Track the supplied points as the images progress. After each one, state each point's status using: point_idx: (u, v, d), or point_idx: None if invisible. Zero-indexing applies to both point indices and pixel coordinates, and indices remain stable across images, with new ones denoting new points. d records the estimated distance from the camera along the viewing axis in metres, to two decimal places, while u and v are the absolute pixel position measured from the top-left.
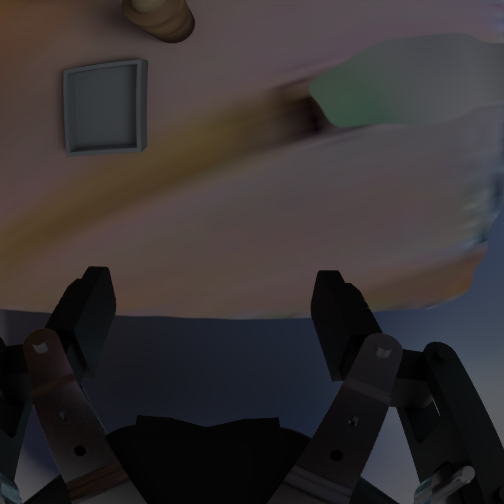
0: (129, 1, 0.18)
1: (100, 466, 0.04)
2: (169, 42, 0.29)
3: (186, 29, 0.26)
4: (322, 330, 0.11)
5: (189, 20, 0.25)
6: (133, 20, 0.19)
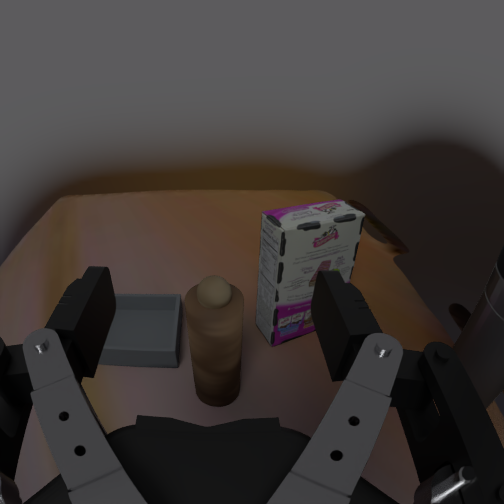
0: None
1: (100, 466, 0.04)
2: None
3: (202, 382, 0.28)
4: (322, 330, 0.11)
5: (211, 379, 0.28)
6: (192, 289, 0.26)
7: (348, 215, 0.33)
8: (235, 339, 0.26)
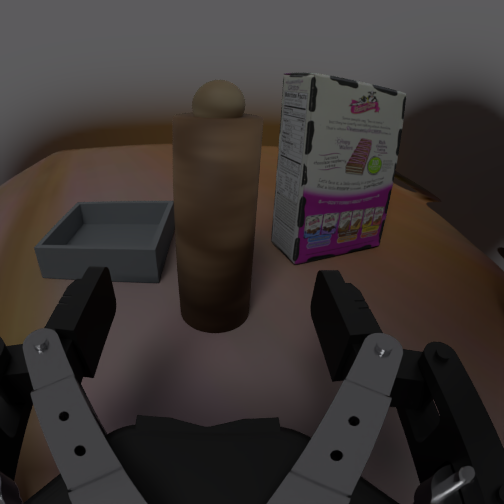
0: None
1: (100, 466, 0.04)
2: None
3: (190, 278, 0.18)
4: (322, 330, 0.11)
5: (204, 266, 0.18)
6: (186, 113, 0.17)
7: (388, 88, 0.23)
8: (248, 181, 0.16)
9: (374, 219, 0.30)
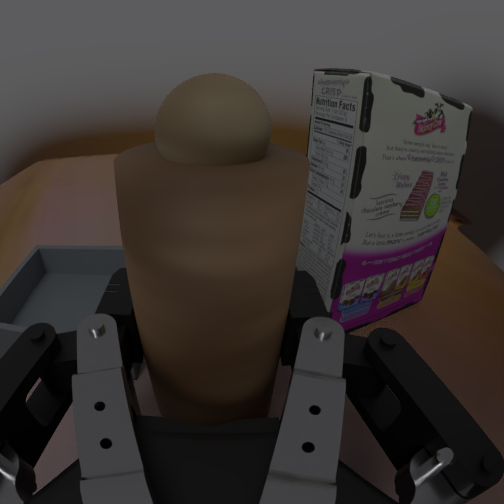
0: None
1: (100, 466, 0.04)
2: None
3: None
4: None
5: (197, 420, 0.09)
6: (149, 143, 0.08)
7: (455, 99, 0.15)
8: (278, 299, 0.08)
9: (422, 272, 0.22)
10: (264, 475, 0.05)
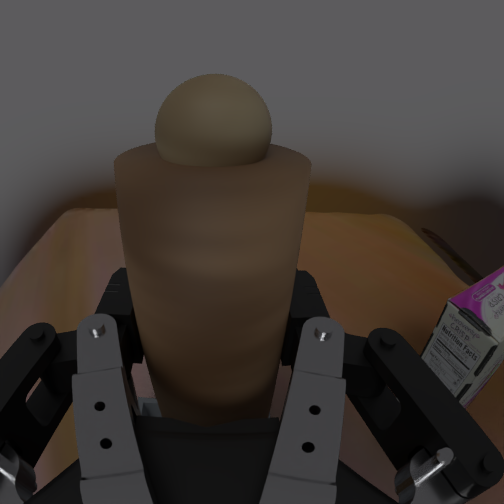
0: None
1: (100, 466, 0.04)
2: None
3: None
4: None
5: (197, 421, 0.09)
6: (150, 144, 0.08)
7: None
8: (279, 301, 0.08)
9: (471, 401, 0.23)
10: (264, 475, 0.05)
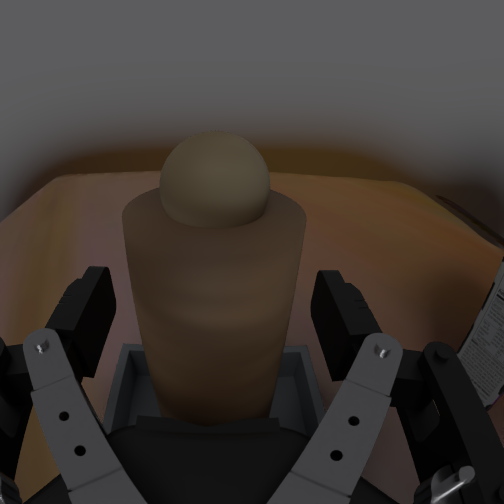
0: None
1: (100, 466, 0.04)
2: None
3: None
4: (322, 330, 0.11)
5: None
6: (154, 190, 0.09)
7: None
8: (274, 342, 0.09)
9: None
10: (287, 474, 0.05)
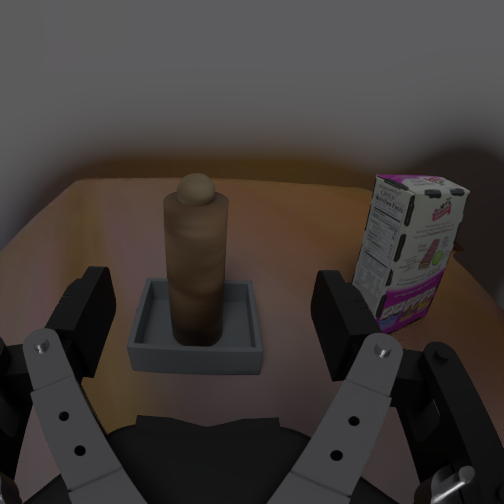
0: None
1: (100, 466, 0.04)
2: None
3: (178, 311, 0.26)
4: (322, 330, 0.11)
5: (188, 304, 0.25)
6: (173, 193, 0.24)
7: (459, 189, 0.26)
8: (217, 249, 0.23)
9: (428, 297, 0.32)
10: (287, 473, 0.05)
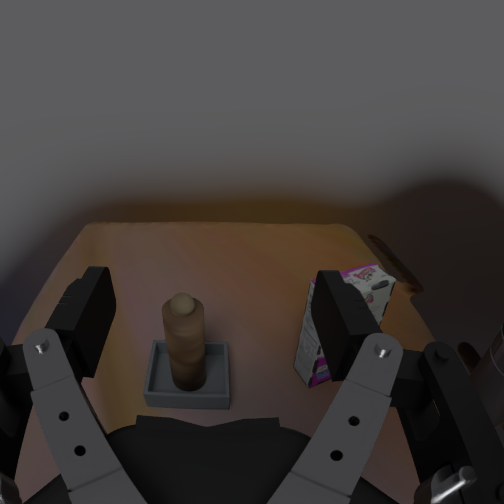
0: None
1: (100, 466, 0.04)
2: None
3: (175, 371, 0.38)
4: (322, 330, 0.11)
5: (181, 368, 0.37)
6: (168, 301, 0.36)
7: (383, 282, 0.37)
8: (197, 339, 0.35)
9: None
10: (287, 473, 0.05)
